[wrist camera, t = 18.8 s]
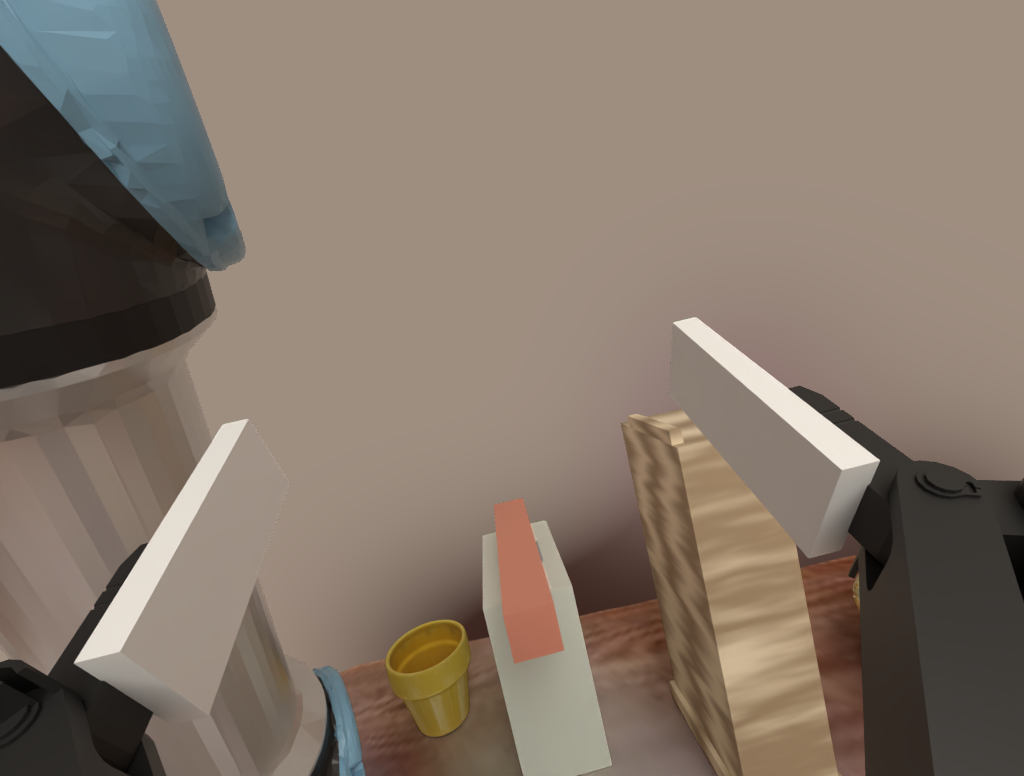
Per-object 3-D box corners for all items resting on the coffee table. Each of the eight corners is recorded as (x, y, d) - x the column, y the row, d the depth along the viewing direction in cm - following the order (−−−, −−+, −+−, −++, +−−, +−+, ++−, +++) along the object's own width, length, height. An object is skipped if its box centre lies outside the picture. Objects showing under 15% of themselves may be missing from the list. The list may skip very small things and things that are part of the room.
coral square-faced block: (564, 650, 34) (553, 602, 34) (514, 663, 34) (502, 615, 33) (528, 525, 60) (522, 497, 60) (500, 532, 60) (493, 504, 59)
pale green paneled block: (612, 765, 44) (571, 583, 43) (526, 789, 44) (482, 606, 43) (574, 649, 62) (545, 518, 61) (513, 665, 62) (482, 534, 60)
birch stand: (853, 805, 36) (781, 409, 34) (751, 835, 36) (671, 435, 34) (745, 677, 51) (690, 394, 49) (672, 696, 51) (612, 413, 48)
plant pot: (401, 704, 59) (384, 637, 59) (474, 673, 62) (458, 608, 62) (405, 768, 50) (384, 688, 49) (491, 727, 52) (473, 651, 52)
